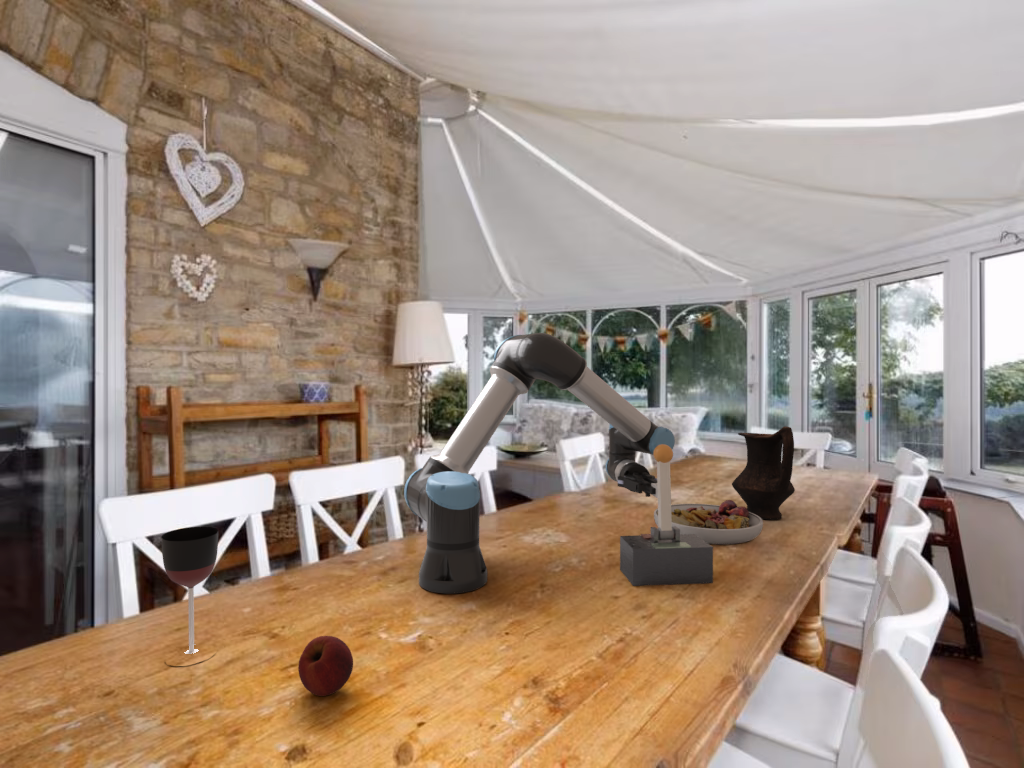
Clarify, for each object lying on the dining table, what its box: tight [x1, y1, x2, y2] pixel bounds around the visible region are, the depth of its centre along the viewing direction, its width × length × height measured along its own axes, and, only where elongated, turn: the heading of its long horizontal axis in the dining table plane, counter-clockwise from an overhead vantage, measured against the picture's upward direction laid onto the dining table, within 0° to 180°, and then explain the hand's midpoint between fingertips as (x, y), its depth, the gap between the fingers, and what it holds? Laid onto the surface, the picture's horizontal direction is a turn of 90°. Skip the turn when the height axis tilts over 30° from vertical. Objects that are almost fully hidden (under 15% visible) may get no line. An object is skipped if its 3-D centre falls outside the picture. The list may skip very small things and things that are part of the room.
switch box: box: [619, 526, 714, 587], centre depth 127 cm, size 10×18×11 cm, turn 95°
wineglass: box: [160, 526, 219, 654], centre depth 91 cm, size 8×9×20 cm
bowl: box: [653, 499, 764, 545], centre depth 163 cm, size 30×30×8 cm
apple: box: [297, 635, 354, 697], centre depth 81 cm, size 7×8×8 cm
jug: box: [731, 426, 796, 521], centre depth 179 cm, size 21×18×30 cm
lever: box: [653, 444, 674, 540], centre depth 127 cm, size 4×4×22 cm
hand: (664, 494), depth 128 cm, fingers closed
